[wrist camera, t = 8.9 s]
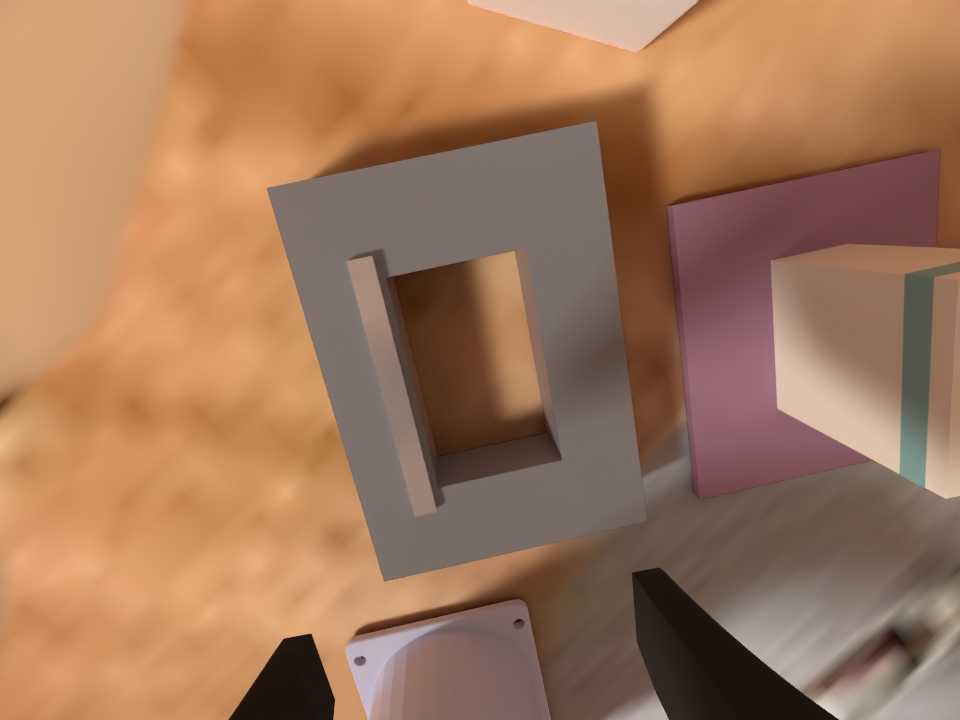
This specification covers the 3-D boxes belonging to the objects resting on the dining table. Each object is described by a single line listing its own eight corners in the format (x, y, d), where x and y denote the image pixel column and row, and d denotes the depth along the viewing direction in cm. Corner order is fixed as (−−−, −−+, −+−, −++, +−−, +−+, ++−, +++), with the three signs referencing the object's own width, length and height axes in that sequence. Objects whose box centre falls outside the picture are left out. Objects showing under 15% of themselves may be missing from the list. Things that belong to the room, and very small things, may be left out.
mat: (916, 442, 22) (927, 447, 21) (694, 493, 22) (699, 499, 21) (927, 151, 19) (940, 149, 18) (666, 206, 18) (672, 205, 18)
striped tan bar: (848, 393, 20) (1051, 475, 14) (776, 409, 20) (945, 499, 14) (848, 243, 19) (1078, 252, 12) (770, 260, 19) (956, 279, 12)
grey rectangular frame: (623, 488, 21) (650, 526, 19) (390, 540, 21) (383, 587, 18) (574, 135, 18) (599, 118, 15) (290, 193, 17) (263, 187, 15)
